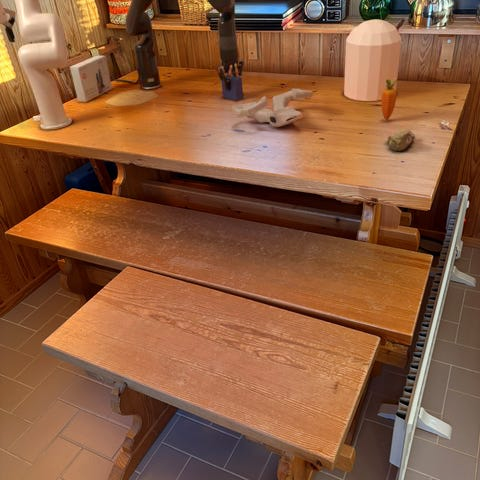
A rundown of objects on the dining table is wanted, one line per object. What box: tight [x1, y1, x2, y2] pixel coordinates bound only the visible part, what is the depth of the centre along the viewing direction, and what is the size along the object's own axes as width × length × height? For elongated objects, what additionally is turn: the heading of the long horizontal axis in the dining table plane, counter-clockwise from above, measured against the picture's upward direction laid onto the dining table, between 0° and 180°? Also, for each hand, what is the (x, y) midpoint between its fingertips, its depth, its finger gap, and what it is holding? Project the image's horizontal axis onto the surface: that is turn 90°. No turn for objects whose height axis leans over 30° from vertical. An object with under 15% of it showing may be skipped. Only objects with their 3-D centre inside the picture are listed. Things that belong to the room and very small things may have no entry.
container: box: [343, 18, 402, 102], centre depth 184 cm, size 21×21×28 cm
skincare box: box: [69, 54, 113, 103], centre depth 218 cm, size 21×6×16 cm, turn 158°
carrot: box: [380, 78, 398, 122], centre depth 161 cm, size 5×5×15 cm
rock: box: [387, 129, 416, 152], centre depth 146 cm, size 11×6×10 cm
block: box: [220, 75, 244, 102], centre depth 199 cm, size 4×9×9 cm, turn 44°
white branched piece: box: [231, 88, 314, 128], centre depth 171 cm, size 28×26×12 cm
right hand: (232, 88), depth 199 cm, fingers closed on block, 4 cm apart
